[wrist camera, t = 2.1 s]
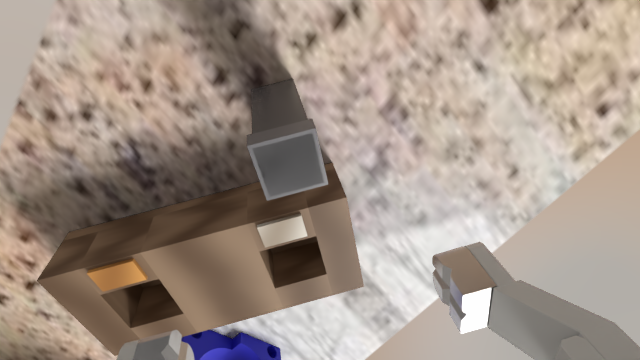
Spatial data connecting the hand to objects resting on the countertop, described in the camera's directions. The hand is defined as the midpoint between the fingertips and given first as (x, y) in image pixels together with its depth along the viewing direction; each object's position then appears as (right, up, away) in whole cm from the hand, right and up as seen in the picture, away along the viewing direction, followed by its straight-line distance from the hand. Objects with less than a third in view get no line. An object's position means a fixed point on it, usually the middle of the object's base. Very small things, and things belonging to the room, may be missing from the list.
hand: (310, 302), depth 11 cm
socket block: (-8, -2, +20) cm, 22 cm away
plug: (-3, +9, +14) cm, 17 cm away
